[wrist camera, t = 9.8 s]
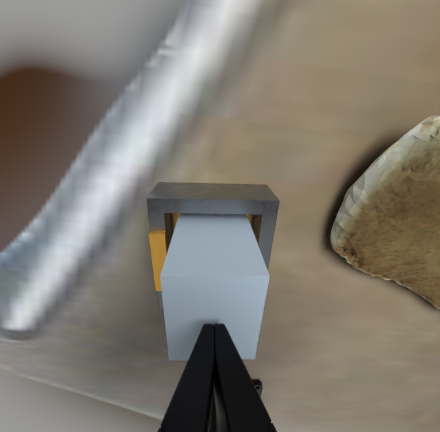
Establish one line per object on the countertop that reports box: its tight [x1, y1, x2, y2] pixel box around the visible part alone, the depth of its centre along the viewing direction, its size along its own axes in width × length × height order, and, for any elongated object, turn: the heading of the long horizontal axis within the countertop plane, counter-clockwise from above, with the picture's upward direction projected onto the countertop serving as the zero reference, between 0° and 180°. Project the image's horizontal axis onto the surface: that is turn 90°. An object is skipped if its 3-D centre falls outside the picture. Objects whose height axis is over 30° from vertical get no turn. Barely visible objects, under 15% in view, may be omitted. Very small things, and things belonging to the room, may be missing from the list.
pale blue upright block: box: [160, 213, 270, 361], centre depth 11 cm, size 5×4×6 cm
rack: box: [147, 182, 279, 309], centre depth 14 cm, size 8×7×3 cm
